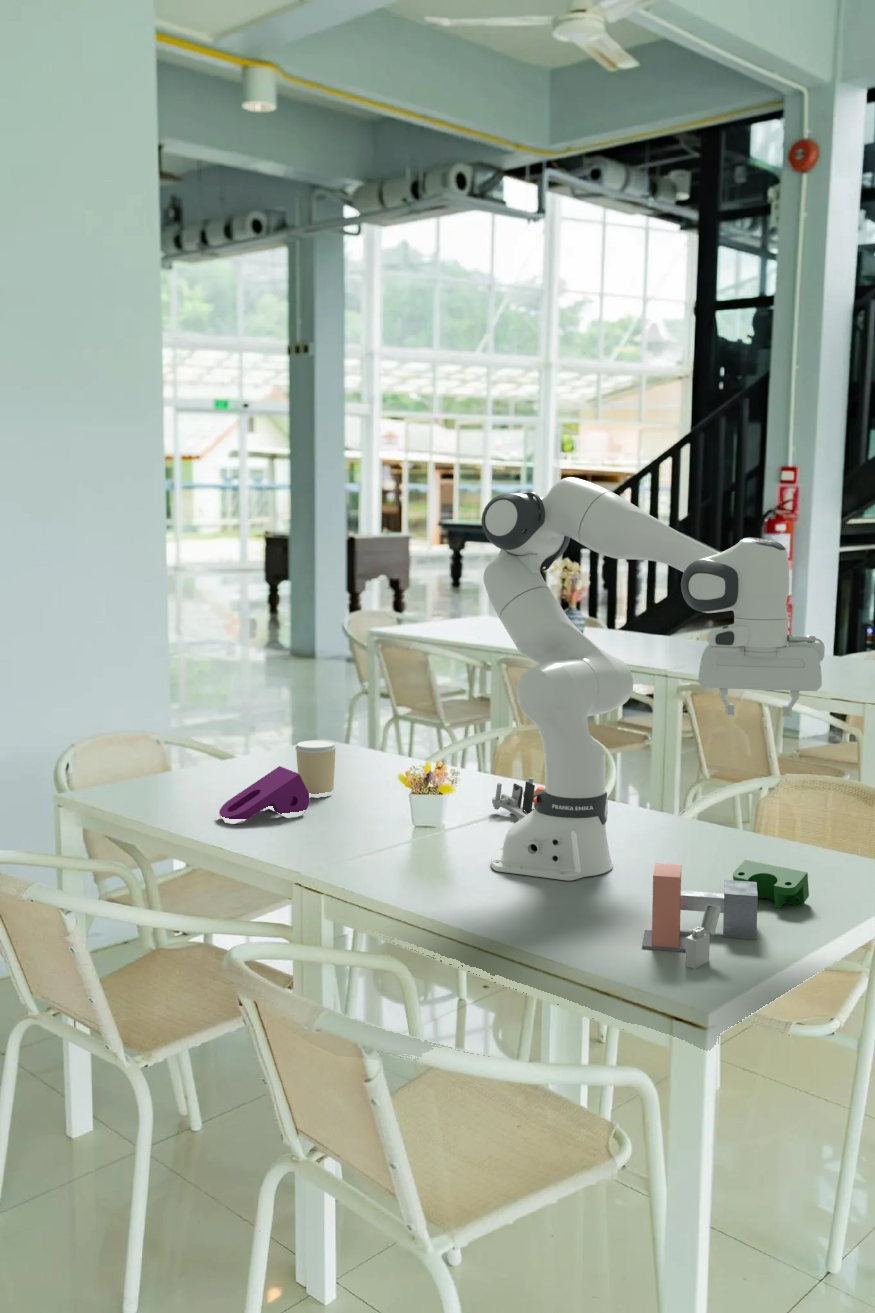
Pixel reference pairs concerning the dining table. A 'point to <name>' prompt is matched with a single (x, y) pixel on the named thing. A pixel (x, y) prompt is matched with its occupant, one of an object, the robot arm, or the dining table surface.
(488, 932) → the dining table surface
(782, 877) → the clamp
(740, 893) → the vise
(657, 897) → the tall salmon pink brick
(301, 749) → the coffee cup
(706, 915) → the lighter
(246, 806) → the mounting bracket
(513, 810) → the bike brake
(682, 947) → the mat
